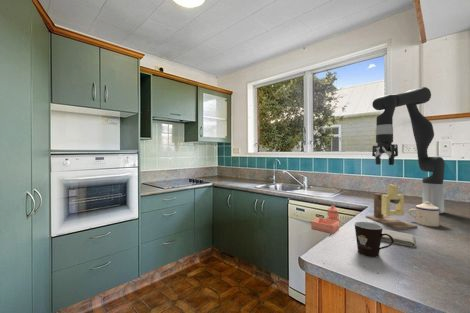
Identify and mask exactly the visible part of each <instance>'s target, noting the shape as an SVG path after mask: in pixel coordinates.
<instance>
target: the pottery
mask: <svg viewBox="0 0 470 313" xmlns="http://www.w3.org/2000/svg"><path fill="white" fill-rule="evenodd" d="M338 217H339V209H338V208H337V207H336V206H335V205H330V207H328V208H327V218H323V217H320V216H319V217H317V218H315V219H313V220H311V222H310V224H311V225H310V228H311V230H313V231H318V232H321V233H326V234H330V235H333V234H334V233H335V232H337V231H338V230H339V228H340V224H341V219H339V218H338ZM336 230H337V231H336ZM332 233H333V234H332Z"/></svg>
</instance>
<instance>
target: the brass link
mask: <svg viewBox="0 0 470 313" xmlns="http://www.w3.org/2000/svg"><path fill="white" fill-rule="evenodd" d="M394 199H396V200H398V201H399V203H398V204H395V203H394V206H395V207H394V209H391V202H390V200H394ZM382 215H385V216H388V217H392V216H393V217H394V216H405V195H403V194H400V193H399V184H387V194H383V195H382Z"/></svg>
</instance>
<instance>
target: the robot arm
mask: <svg viewBox="0 0 470 313" xmlns="http://www.w3.org/2000/svg"><path fill="white" fill-rule="evenodd" d="M431 98H432V92H431V90H430V88H428V87H427V86H423V87H418V88H413V89H410V90H407V91H405V92H401V93H400V92H399V93H393V94H392V93H390V94H387V95H382V96H378V97H376V98H374V100H373V101H372V103H371V104H372V105H371V106H372V108H373V109H374V110H376V111H383V110H384V111H383V112H382V113H379V114H378V115H376V117H375V118H376V128H375V143H376V144H377V145H372V157H374V158H375V165H381V159H382V158H381V157H382V155H383V154H385V155H387V157H388V165H389V166H394V165H395V158H396V157H399V147H398V144H396V143H395V144H394V126H393V122H394V120H393V119H394V118H393V117H394V114H395V110H396V108H398V107H402V106H403V107H404V106H406V109H407V112H408V115H409V117H410V118H409V119H410V124H411V128H412V134H413V137H414V141H415V145H416V152H417V161H418V167H419V169H420V171H422V172H427V173H432V174H431V175H429V176H427V177H423V178H422V204H423V203H425V202H430V204H432V205H434V206H435V207H438V208H439V209H440V210H439V214H443V213H445V196H444V179H445V165H446V164H445V160H444V158H443V156H442V157H441V156H428V155H429V153H428V149H429V146H430V144H431V143H432V142H433V139H434V137H435V132H434V127H433V126H434V125H433V124H432V122H431V121H430V120H429V119H428V118H427V117H426V116H425V115H423V114H422V113H421V112H420V110H419V108H418V106H417V105H422V104H426V103H428V102H429V101H430V99H431Z"/></svg>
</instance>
